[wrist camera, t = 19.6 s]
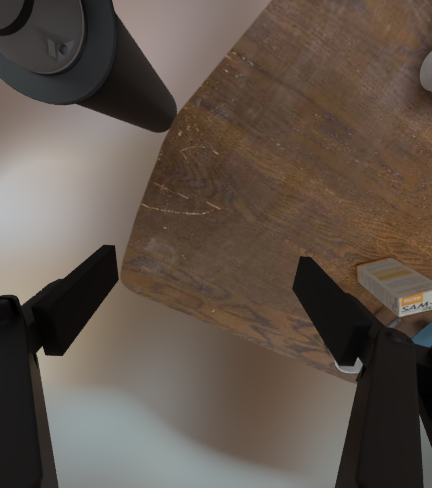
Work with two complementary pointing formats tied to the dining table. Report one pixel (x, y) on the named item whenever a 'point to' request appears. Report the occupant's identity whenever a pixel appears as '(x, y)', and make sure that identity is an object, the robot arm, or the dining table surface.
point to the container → (424, 336)
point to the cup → (426, 73)
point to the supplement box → (396, 286)
